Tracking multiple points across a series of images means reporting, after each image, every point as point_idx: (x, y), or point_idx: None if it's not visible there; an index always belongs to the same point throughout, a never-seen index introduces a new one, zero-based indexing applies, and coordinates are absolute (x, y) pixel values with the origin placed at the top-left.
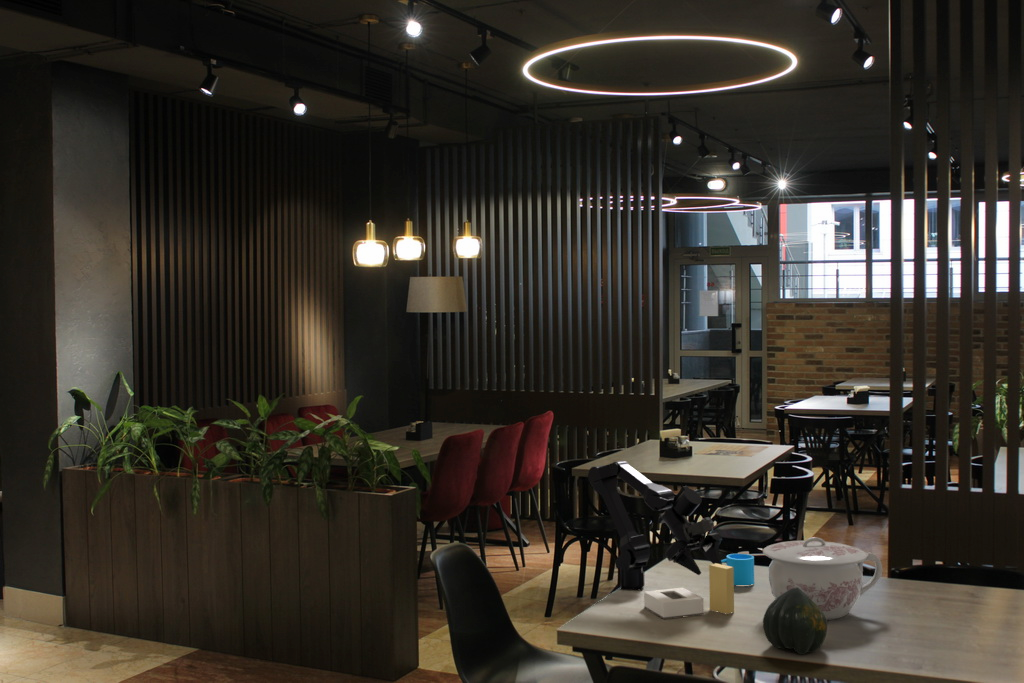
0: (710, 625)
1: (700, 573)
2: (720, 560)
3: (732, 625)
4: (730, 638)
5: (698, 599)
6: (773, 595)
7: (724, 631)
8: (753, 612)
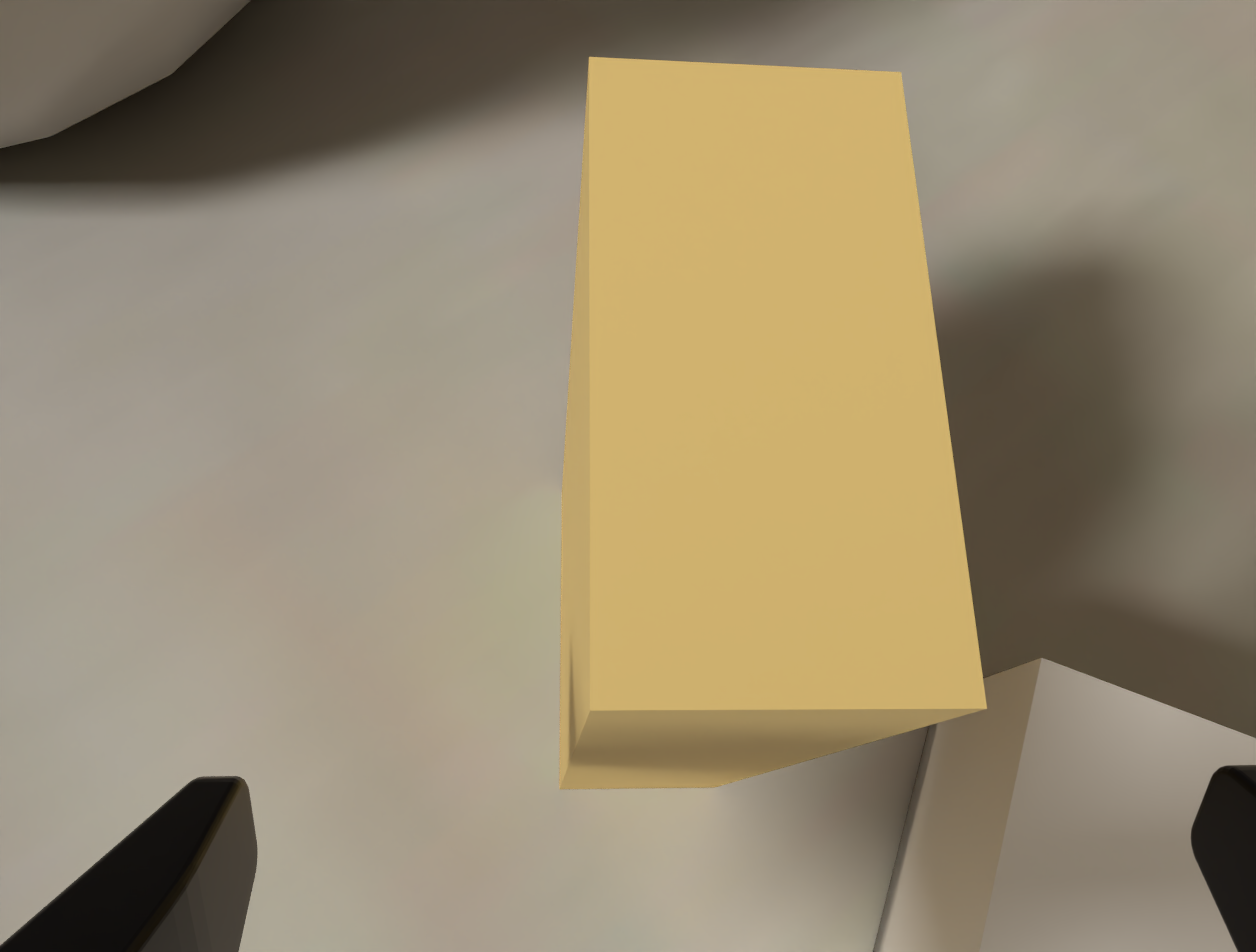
0: (1153, 368)
1: (1241, 769)
2: (41, 939)
3: (958, 222)
4: (1246, 29)
5: (1125, 691)
6: (182, 8)
7: (1160, 166)
8: (381, 343)
